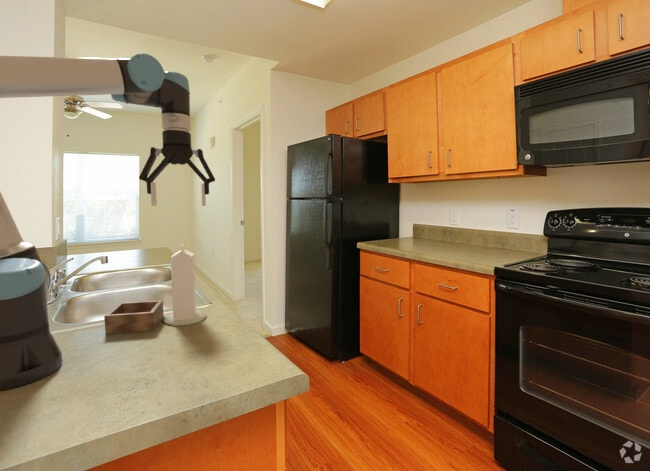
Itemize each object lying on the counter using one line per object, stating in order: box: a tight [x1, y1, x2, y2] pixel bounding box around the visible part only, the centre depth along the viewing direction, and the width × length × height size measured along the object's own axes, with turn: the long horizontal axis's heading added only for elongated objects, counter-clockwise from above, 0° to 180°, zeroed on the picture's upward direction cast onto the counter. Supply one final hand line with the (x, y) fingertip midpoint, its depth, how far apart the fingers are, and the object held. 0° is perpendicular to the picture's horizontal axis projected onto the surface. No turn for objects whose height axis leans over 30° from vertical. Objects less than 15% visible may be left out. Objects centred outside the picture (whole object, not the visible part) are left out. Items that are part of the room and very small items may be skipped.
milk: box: [170, 243, 197, 321], centre depth 104 cm, size 6×6×22 cm
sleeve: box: [104, 299, 164, 335], centre depth 100 cm, size 12×12×5 cm
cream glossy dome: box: [163, 309, 207, 327], centre depth 106 cm, size 12×12×1 cm
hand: (179, 205), depth 102 cm, fingers open, 13 cm apart
